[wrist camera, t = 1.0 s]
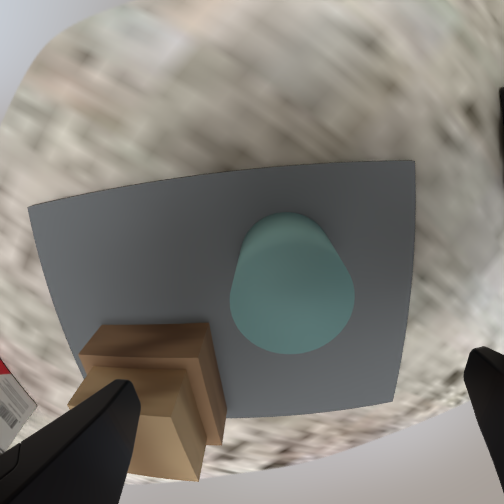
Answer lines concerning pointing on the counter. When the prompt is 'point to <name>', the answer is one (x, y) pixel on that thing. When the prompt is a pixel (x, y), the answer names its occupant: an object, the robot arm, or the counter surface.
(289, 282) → the teal cylinder
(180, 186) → the slate mat
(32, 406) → the ink box
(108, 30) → the counter surface
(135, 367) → the walnut base block
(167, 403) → the oak block
